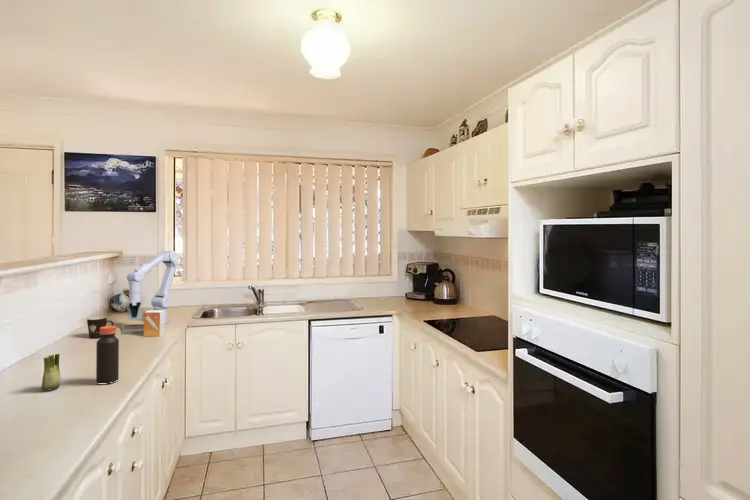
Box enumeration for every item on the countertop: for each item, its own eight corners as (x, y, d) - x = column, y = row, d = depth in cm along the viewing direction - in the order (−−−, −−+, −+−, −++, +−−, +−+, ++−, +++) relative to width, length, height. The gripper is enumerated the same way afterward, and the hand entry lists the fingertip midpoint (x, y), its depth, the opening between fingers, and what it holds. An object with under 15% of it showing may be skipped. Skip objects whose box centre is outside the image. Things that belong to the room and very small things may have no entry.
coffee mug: (82, 338, 207) (82, 318, 206) (99, 334, 215) (99, 315, 214) (98, 340, 202) (98, 320, 202) (114, 337, 210) (114, 317, 210)
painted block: (127, 318, 231) (127, 308, 230) (142, 318, 234) (142, 307, 234) (127, 320, 227) (127, 309, 227) (141, 319, 231) (141, 308, 231)
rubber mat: (122, 330, 224) (122, 329, 224) (145, 329, 229) (145, 328, 229) (121, 334, 217) (121, 333, 217) (145, 332, 222) (145, 331, 222)
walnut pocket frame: (122, 327, 232) (123, 325, 232) (147, 325, 238) (147, 323, 238) (121, 330, 224) (121, 328, 224) (146, 328, 230) (146, 326, 230)
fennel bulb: (58, 385, 143) (58, 351, 142) (64, 388, 140) (65, 354, 140) (38, 390, 138) (38, 355, 137) (44, 393, 135) (44, 358, 135)
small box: (143, 336, 212) (143, 312, 212) (148, 334, 218) (148, 310, 218) (159, 336, 213) (160, 312, 213) (164, 334, 219) (164, 310, 219)
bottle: (101, 386, 143) (102, 330, 142) (92, 382, 146) (92, 327, 146) (122, 381, 148) (122, 326, 148) (112, 377, 152) (113, 324, 151)
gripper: (127, 291, 235) (127, 314, 235) (125, 294, 222) (125, 319, 222) (141, 290, 238) (141, 313, 239) (140, 293, 225) (140, 318, 226)
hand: (134, 316), depth 231 cm, fingers closed on painted block, 4 cm apart
